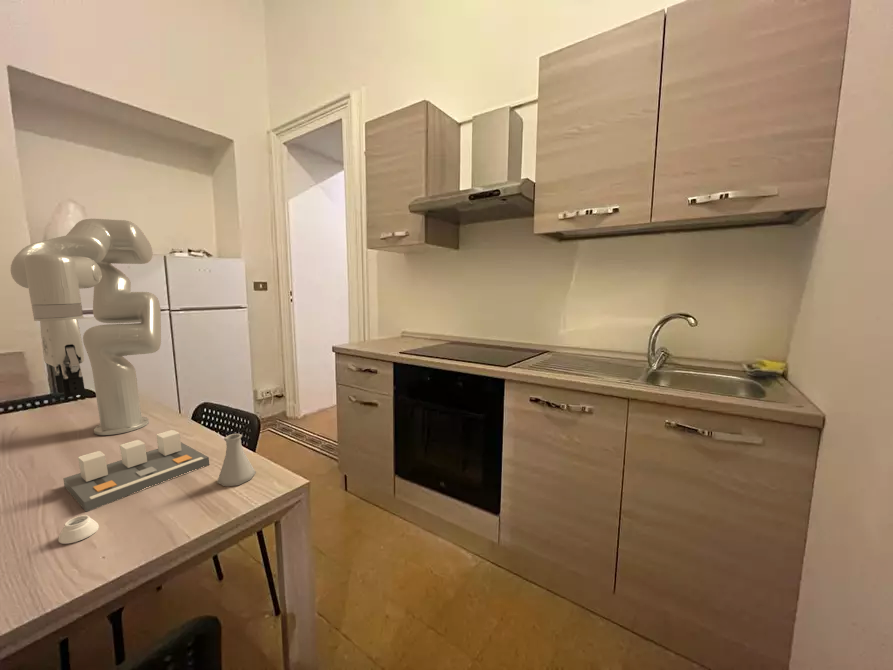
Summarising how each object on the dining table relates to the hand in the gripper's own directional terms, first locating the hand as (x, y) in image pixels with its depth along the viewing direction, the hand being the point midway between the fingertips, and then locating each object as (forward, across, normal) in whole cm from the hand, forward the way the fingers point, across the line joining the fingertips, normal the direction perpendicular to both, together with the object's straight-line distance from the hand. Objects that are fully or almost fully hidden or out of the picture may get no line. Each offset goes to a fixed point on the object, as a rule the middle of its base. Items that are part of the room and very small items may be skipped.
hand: (71, 392), depth 83 cm
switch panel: (+19, +12, +7) cm, 24 cm away
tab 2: (+17, +9, +7) cm, 21 cm away
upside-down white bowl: (+20, +28, -6) cm, 35 cm away
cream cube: (+17, +9, +14) cm, 24 cm away
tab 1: (+17, +9, 0) cm, 20 cm away
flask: (+20, +32, +18) cm, 42 cm away
